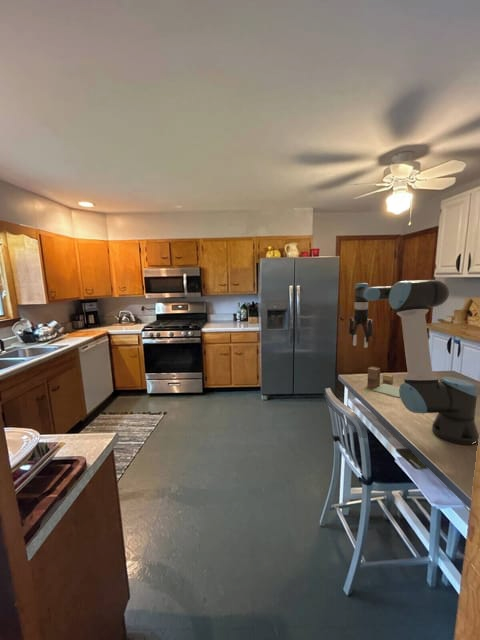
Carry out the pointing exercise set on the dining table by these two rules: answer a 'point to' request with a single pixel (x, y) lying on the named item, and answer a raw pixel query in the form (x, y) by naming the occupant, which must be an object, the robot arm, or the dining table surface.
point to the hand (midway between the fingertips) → (360, 346)
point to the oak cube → (387, 378)
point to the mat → (388, 390)
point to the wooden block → (373, 377)
